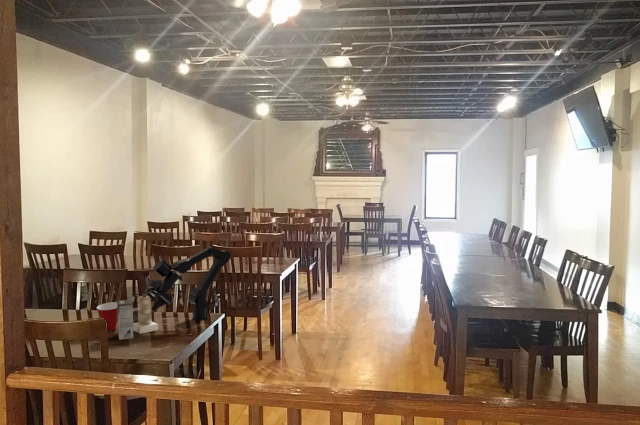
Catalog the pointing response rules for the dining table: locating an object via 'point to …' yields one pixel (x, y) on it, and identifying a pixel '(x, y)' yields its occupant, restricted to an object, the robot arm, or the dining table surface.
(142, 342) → the dining table surface
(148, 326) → the stand
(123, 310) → the coffee box
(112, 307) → the plastic cup
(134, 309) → the box
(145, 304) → the pepper mill
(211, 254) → the robot arm
